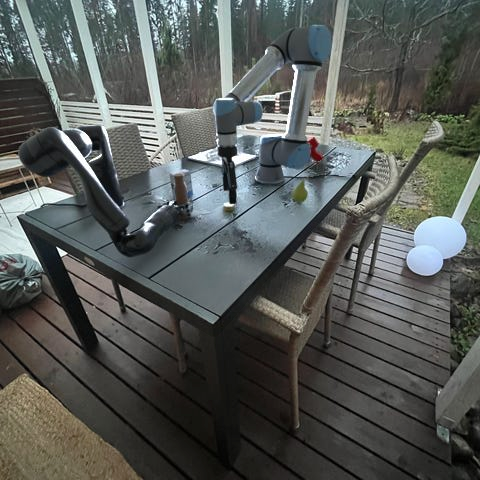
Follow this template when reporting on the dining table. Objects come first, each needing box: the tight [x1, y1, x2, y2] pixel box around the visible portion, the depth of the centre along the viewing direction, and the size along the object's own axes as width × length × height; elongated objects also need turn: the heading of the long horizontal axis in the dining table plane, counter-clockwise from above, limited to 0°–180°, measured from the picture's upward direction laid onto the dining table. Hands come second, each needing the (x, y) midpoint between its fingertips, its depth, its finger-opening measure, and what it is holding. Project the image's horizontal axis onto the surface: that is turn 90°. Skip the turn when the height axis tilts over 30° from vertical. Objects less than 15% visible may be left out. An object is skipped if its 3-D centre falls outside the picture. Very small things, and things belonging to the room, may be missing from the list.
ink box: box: [168, 168, 194, 200], centre depth 124 cm, size 8×5×12 cm, turn 135°
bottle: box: [174, 173, 191, 220], centre depth 106 cm, size 5×5×18 cm
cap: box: [223, 201, 235, 212], centre depth 116 cm, size 4×4×2 cm
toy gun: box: [307, 136, 324, 164], centre depth 170 cm, size 18×4×15 cm
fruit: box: [291, 174, 311, 204], centre depth 118 cm, size 7×8×12 cm
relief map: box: [188, 147, 257, 167], centre depth 178 cm, size 27×35×5 cm
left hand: (185, 200), depth 109 cm, fingers closed on bottle, 4 cm apart
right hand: (229, 196), depth 114 cm, fingers open, 13 cm apart
